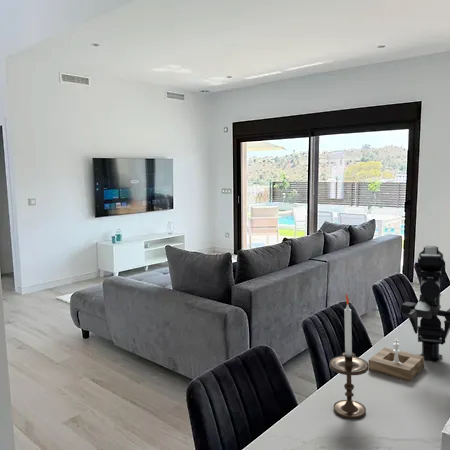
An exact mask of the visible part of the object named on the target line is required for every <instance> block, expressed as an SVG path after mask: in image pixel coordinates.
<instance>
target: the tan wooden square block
mask: <svg viewBox="0 0 450 450" xmlns="http://www.w3.org/2000/svg"><path fill="white" fill-rule="evenodd" d="M394 349H395V348H391V347H387V346H385V347H383V348H381V349H380V350H379V351H378V352H377V353H375V354H374V355H372V357H370V358H368V361H367V362H368V371H369V372H373V373H375V372H376V374H380V375H382V374H383V375H384V376H386V375H387V376H386V377H390V378H393V377H394V379H397V380H400V379H401V381H404V382H408V383H410V382H412V381H413V379H414V378H415V377H416V376H417V375H418V374H419V373H420V372H421V371H422V370H423V369H424V368H425V359H424V356H420V354H414V353H411V352H406V351H403V350H399V351H400V352H398V358H399V361H400V362H401V363H403V364H400V363H397V362H393V361H394V356H395V352H394V351H393V350H394ZM383 375H382V376H383Z"/></svg>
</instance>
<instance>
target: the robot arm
mask: <svg viewBox="0 0 450 450" xmlns="http://www.w3.org/2000/svg"><path fill="white" fill-rule="evenodd" d="M444 275H446V261H445V259H444V254H443V253H442V252H441V251H440V250H439V246H437V245H424V246H423V250H422V251H420V252H419V254H418V257H417V277H420V287H419V291H420V295H419V299H418V302H417V303H416V302H411V301H405V302H403V303H402V304H400V306H399V313H401V314H403V316H405V317H407V319H408V321H410V324H411V326H412V330H413V331H414V334H416V335H417V343H421V353H420V354H419V355H420V356H424V360H427V361H432V362H437V363H438V362H439V361H440V359H442V357H443V355H442V354H440V345H444V344H446V339H447V337H448V334H449V332H450V308H449V309H447V310H441V307H442V305H441V300H440V299H441V296H442V294H441V279H442V278H443V279H444ZM438 316H439V317H444V319H445V320H444V321H443V323H444V327H442V321H441V319H440V318H439V317H438ZM419 318H420V320H418V319H419ZM418 321H419V322H418Z"/></svg>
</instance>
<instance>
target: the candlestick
mask: <svg viewBox="0 0 450 450" xmlns="http://www.w3.org/2000/svg"><path fill="white" fill-rule="evenodd" d="M345 298H346V299H345V300H346V303H345V304H346V306H345V308H344V310H343V311H344V312H343V313H344V314H343V315H344V352H342V353H341V355H339V356H335V357H333V358H331V359H330V360H329V369H330V370H331V371H333V372H334V373H337V374H340V375H345V376H346V383H344V385H343V387H344V389H345V390H346V392H345V393H344V395H345V396H346V399H342V400H338V401H337V402H335V403H334V404H333V412H334V413H335V414H336V415H337V416H338V417H341V418H342V419H347V420H359V419H362V418H363V417H365V416H366V413H367V412H366V411H367V409H366V407H365V405H364V404H362V403H361V402H358V401H356V400H353V397H354V392H353V390H354V389H355V385H354V384H353V383H352V376H359V375H363V374H366V373H368V371H369V362H368V361H366V360H365V359H363V358H361V357H359V356H357V354H356V353H354V352H353V335H352V328H353V327H352V309H351V308H350V305H349V303H350V299H349V297H348V293H345Z"/></svg>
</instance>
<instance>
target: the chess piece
mask: <svg viewBox="0 0 450 450" xmlns="http://www.w3.org/2000/svg"><path fill="white" fill-rule="evenodd" d="M399 342H400V341H399V340H398V338H395V339H394V340H393V345H392V346H393V349H394V350H393V351H394V352H395V356H394V361H393V362H397V363H400V364H403V363H401V362H400V361H399V358H398V352H400V351H401V350H399V347H400V343H399Z"/></svg>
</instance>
